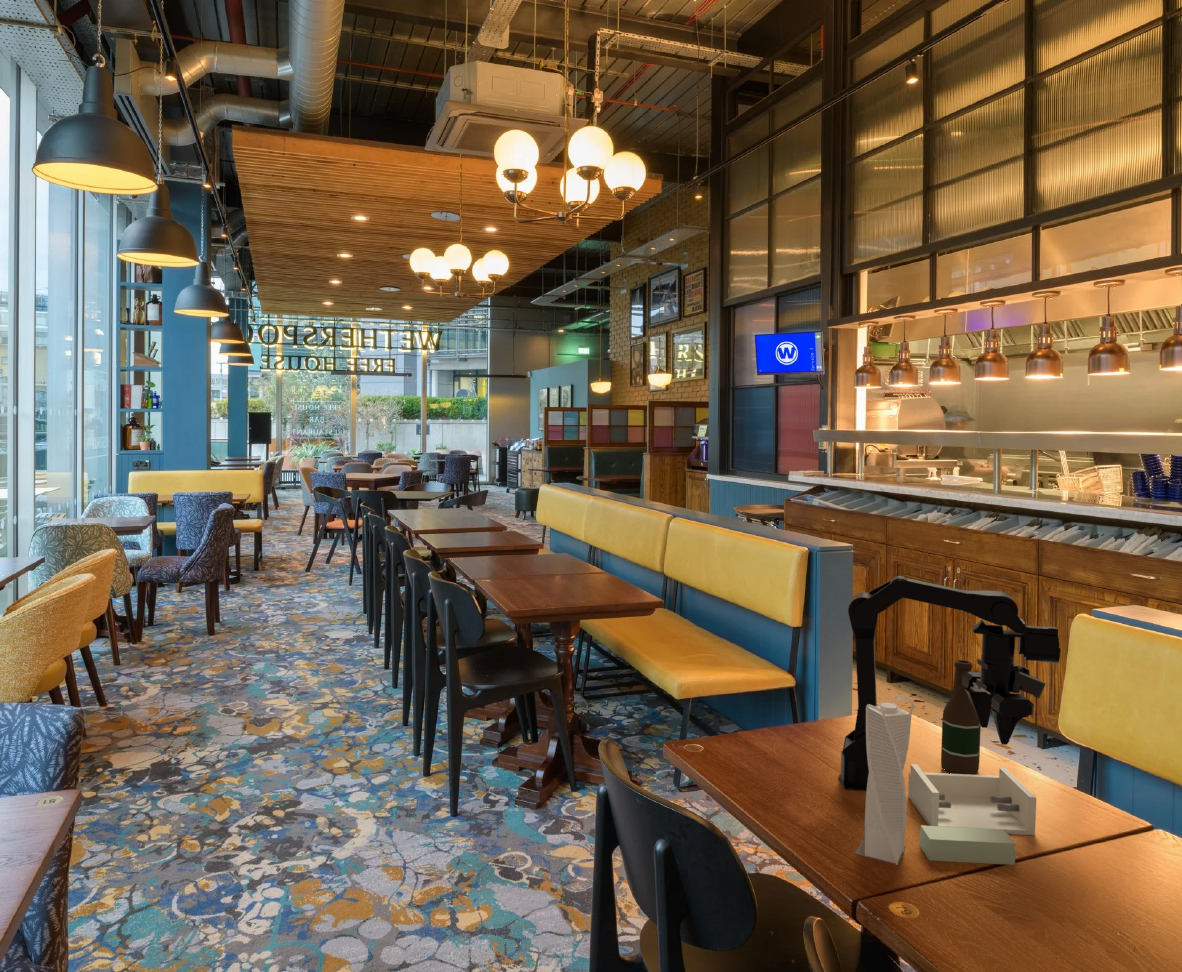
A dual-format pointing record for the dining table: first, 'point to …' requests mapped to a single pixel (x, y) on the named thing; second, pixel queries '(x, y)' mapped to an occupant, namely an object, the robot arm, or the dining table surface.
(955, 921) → the dining table surface
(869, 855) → the skyscraper
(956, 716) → the beer bottle
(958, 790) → the tray
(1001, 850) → the shelf board
